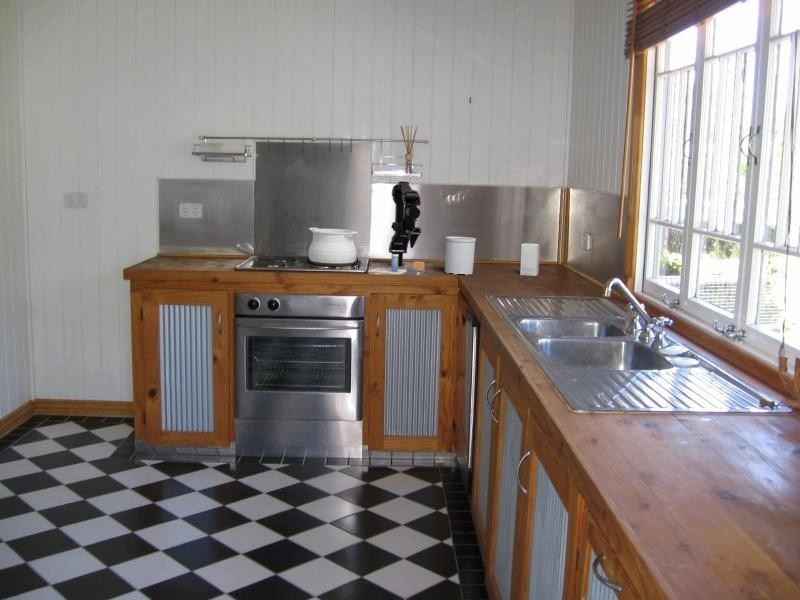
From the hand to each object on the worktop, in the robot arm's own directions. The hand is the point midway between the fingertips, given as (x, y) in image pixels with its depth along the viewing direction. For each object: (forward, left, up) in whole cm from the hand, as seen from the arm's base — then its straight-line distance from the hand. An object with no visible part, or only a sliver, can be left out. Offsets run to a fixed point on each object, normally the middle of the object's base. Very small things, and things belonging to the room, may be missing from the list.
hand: (408, 249), depth 431 cm
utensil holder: (-12, +23, -12) cm, 28 cm away
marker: (+6, -5, -11) cm, 13 cm away
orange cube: (0, +6, -10) cm, 12 cm away
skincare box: (-27, +55, -12) cm, 62 cm away
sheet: (+4, -8, -11) cm, 14 cm away
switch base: (+3, +6, -11) cm, 13 cm away
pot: (-5, -42, -12) cm, 44 cm away
